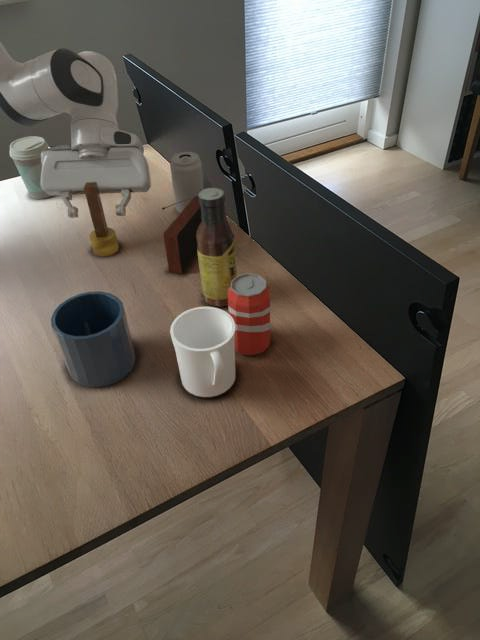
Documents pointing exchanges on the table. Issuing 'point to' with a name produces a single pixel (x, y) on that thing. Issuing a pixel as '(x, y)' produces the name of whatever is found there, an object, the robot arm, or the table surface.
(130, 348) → the blue bin
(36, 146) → the coffee cup
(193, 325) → the mug
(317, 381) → the table surface
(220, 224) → the sauce bottle
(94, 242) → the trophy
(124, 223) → the table surface
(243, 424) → the table surface
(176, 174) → the beverage can
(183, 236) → the radio
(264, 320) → the beverage can
